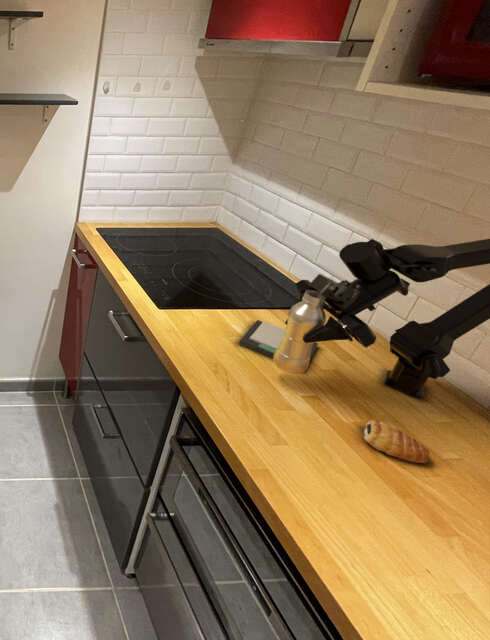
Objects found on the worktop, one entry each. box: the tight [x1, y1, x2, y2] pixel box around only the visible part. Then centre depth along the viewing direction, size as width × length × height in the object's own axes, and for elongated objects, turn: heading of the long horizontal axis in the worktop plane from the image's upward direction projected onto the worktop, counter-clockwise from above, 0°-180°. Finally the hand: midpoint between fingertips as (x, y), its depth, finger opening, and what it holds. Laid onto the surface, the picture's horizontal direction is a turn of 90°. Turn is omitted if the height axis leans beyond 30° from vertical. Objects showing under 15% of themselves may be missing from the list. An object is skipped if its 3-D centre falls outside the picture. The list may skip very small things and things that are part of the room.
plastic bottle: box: [272, 290, 327, 375], centre depth 99 cm, size 6×7×20 cm
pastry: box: [363, 419, 431, 464], centre depth 86 cm, size 9×7×4 cm
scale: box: [238, 319, 319, 360], centre depth 116 cm, size 14×14×2 cm
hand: (294, 332), depth 99 cm, fingers closed on plastic bottle, 6 cm apart
